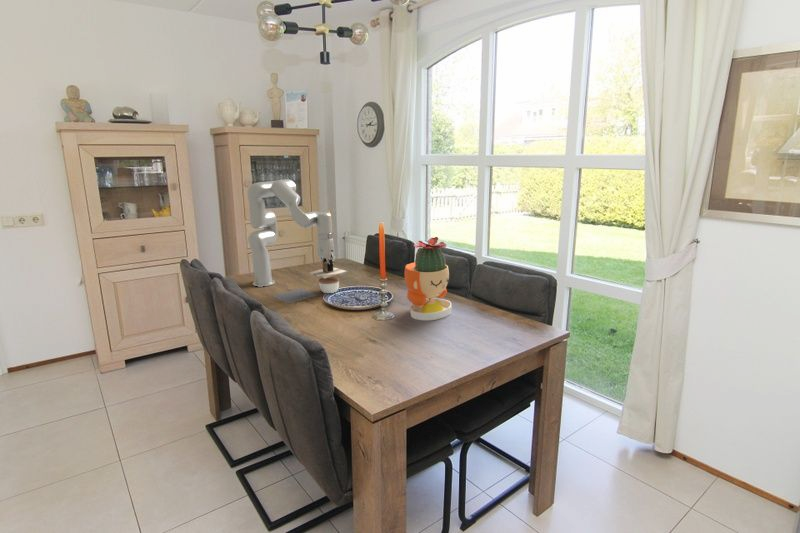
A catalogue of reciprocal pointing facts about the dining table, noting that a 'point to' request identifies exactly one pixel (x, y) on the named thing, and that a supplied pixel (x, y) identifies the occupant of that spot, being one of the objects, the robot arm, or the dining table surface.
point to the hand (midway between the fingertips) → (328, 269)
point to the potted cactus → (428, 282)
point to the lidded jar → (329, 284)
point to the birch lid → (327, 272)
